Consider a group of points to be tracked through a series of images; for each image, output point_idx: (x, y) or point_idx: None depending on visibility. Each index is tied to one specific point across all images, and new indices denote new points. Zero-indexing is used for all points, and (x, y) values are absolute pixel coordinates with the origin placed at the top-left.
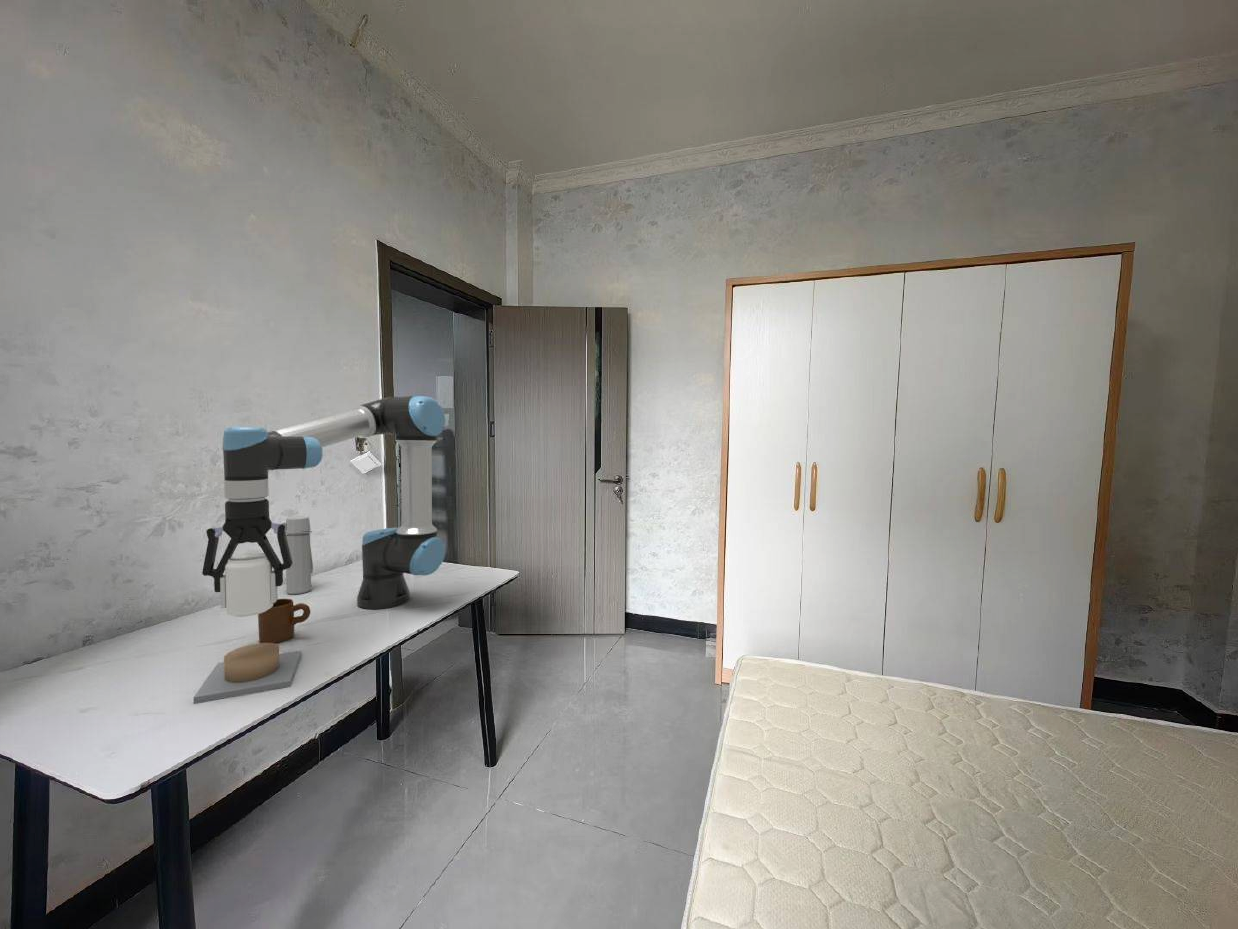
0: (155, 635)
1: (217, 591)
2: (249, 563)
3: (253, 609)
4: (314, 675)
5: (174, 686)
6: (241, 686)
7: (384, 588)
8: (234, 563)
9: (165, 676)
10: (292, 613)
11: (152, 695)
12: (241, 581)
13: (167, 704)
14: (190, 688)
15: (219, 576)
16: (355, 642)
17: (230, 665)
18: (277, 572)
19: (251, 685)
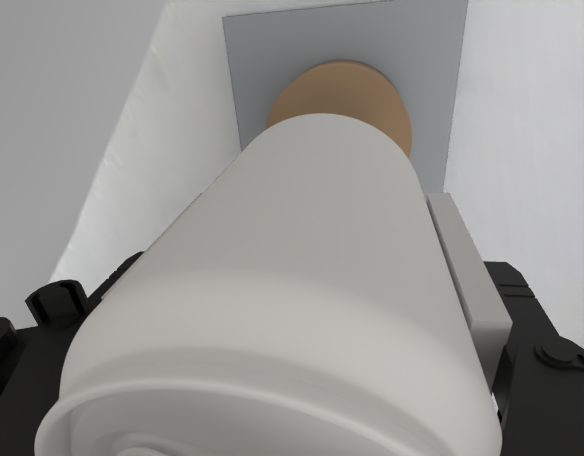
0: None
1: (496, 266)
2: (161, 333)
3: (278, 126)
4: (187, 73)
5: (528, 144)
6: (347, 28)
7: None
8: (371, 390)
9: (555, 218)
10: None
11: (579, 104)
12: (303, 189)
13: (535, 19)
14: (486, 113)
15: (523, 340)
16: (154, 240)
17: (384, 80)
18: (71, 291)
19: (321, 25)
